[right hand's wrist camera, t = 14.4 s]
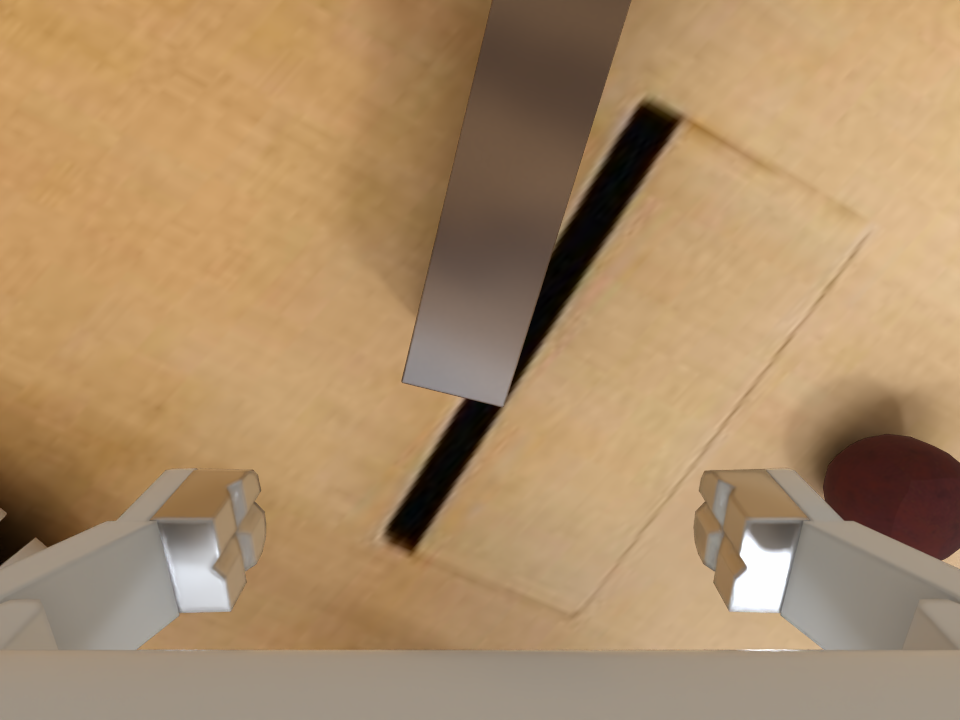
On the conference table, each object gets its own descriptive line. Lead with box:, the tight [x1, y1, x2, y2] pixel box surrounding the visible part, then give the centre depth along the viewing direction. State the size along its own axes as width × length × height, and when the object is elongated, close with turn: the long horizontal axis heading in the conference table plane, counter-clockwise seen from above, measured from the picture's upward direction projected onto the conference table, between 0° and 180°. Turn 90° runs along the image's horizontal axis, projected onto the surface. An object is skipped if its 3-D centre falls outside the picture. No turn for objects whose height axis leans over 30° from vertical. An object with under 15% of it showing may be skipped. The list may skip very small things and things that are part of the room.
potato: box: [823, 434, 960, 561], centre depth 34 cm, size 7×8×7 cm
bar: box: [402, 0, 631, 407], centre depth 26 cm, size 24×5×9 cm, turn 165°
